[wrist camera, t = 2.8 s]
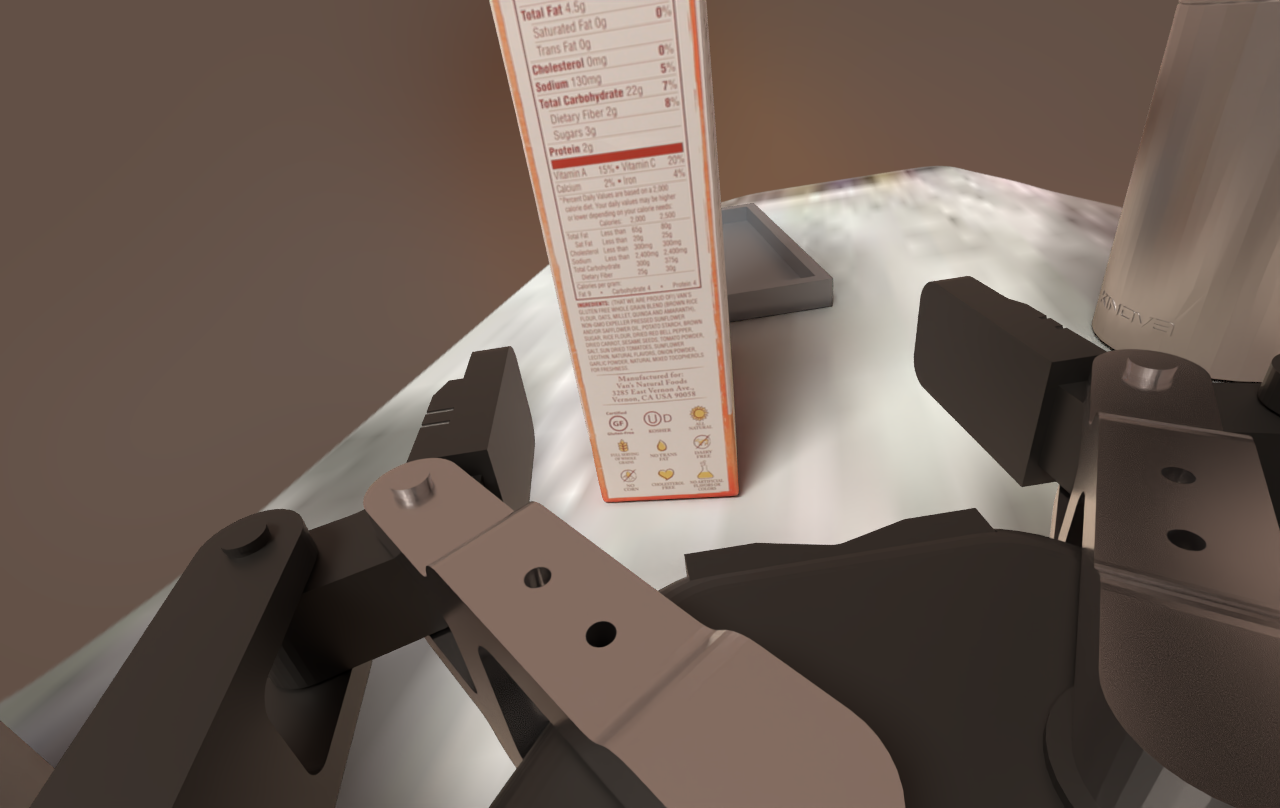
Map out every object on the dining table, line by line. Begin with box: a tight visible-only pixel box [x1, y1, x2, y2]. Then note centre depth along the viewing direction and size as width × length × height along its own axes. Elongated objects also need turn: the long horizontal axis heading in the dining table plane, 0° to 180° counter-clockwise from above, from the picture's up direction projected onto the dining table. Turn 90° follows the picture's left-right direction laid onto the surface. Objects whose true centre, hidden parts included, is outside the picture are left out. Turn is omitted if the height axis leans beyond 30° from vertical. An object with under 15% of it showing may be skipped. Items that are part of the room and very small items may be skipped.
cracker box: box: [490, 0, 739, 502], centre depth 25 cm, size 14×6×21 cm, turn 175°
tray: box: [721, 203, 833, 322], centre depth 47 cm, size 13×20×2 cm, turn 5°
